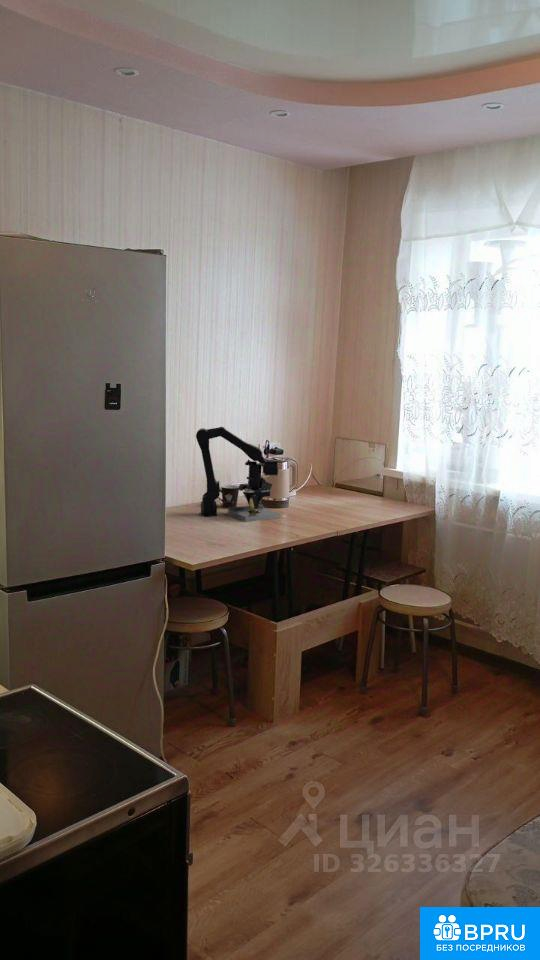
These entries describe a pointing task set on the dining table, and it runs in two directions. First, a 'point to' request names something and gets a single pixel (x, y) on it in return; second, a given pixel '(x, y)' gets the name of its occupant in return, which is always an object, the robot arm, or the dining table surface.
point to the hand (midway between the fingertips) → (253, 508)
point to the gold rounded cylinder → (252, 507)
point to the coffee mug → (229, 495)
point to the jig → (245, 515)
